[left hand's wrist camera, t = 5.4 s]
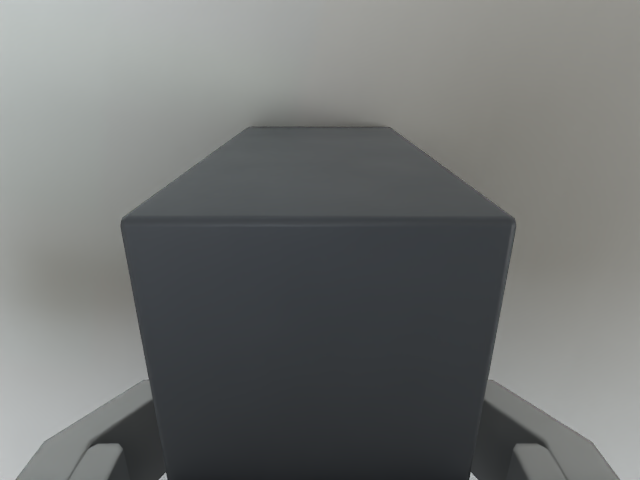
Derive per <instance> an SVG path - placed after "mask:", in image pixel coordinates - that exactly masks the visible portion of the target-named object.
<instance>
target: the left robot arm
mask: <svg viewBox="0 0 640 480" xmlns="http://www.w3.org/2000/svg"><path fill="white" fill-rule="evenodd" d="M165 472H166V468H165V463H164V457H163V452H162V447H161V441H160V436H159V430H158V425H157V420H156V414H155V409H154V404H153V398H152V393H151V387H150V382H149V380H143V381H141V382H140V383H138V384H137V385H135V386H133V387H132V388H130V389H128V390H127V391H125V392H124V393H122V394H120V395H119V396H117V397H116V398H114V399H112V400H111V401H109V402H107V403H106V404H104V405H103V406H101V407H99V408H98V409H96V410H95V411H93V412H91V413H90V414H88V415H86V416H85V417H83V418H82V419H80V420H78V421H77V422H75V423H74V424H72V425H70V426H69V427H67V428H65V429H64V430H62V431H61V432H59V433H57V434H56V435H54V436H53V437H51V438H49V439H48V440H46V441H44V443H43V444H42V445H41V447H40V448H39V449H38V451H37V452H36V453H35V455H34V456H33V457H32V458H31V460H30V461H29V462H28V464H27V465H26V466H25V468H24V469H23V470H22V472H21V473H20V474H19V476H18V477H17V478H16V480H159V479H160V477H161V476H162V475H163V474H164V473H165ZM471 472H472V473H473V475H474V476H475V477H476V478H477V479H478V480H620V479H619V478H618V476H617V475H616V474H615V472H614V471H613V470H612V468H611V467H610V465H609V464H608V463H607V461H606V460H605V459H604V457H603V456H602V455H601V453H600V452H599V451H598V449H597V448H596V447H595V445H594V444H593V443H592V442H591V441H589V440H588V439H586V438H585V437H583V436H581V435H580V434H578V433H577V432H575V431H573V430H572V429H570V428H569V427H567V426H565V425H564V424H562V423H561V422H559V421H558V420H556V419H554V418H553V417H551V416H550V415H548V414H546V413H545V412H543V411H542V410H540V409H538V408H537V407H535V406H534V405H532V404H530V403H529V402H527V401H526V400H524V399H522V398H521V397H519V396H518V395H516V394H514V393H513V392H511V391H510V390H508V389H506V388H505V387H503V386H502V385H500V384H498V383H497V382H495V381H494V380H488V381H487V386H486V391H485V397H484V402H483V407H482V413H481V418H480V424H479V429H478V434H477V440H476V445H475V450H474V456H473V461H472V466H471Z"/></svg>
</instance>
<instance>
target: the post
mask: <svg viewBox="0 0 640 480" xmlns="http://www.w3.org/2000/svg"><path fill="white" fill-rule="evenodd" d="M515 230H516V222H515V219H514V218H513V217H512V216H511V215H509V214H508V213H506V212H505V211H504V210H502V209H501V208H500V207H498V206H497V205H495V204H494V203H493V202H491V201H490V200H489V199H487V198H486V197H485V196H483V195H482V194H480V193H479V192H478V191H476V190H475V189H474V188H472V187H471V186H469V185H468V184H467V183H465V182H464V181H463V180H461V179H460V178H459V177H457V176H456V175H454V174H453V173H452V172H450V171H449V170H448V169H446V168H445V167H444V166H442V165H441V164H439V163H438V162H437V161H435V160H434V159H433V158H431V157H430V156H428V155H427V154H426V153H424V152H423V151H422V150H420V149H419V148H418V147H416V146H415V145H413V144H412V143H411V142H409V141H408V140H407V139H405V138H404V137H402V136H401V135H400V134H398V133H397V132H396V131H394V130H393V129H392V128H390V127H248V128H246V129H245V130H243V131H242V132H241V133H239V134H238V135H237V136H235V137H234V138H232V139H231V140H230V141H228V142H227V143H225V144H224V145H223V146H221V147H220V148H219V149H217V150H216V151H214V152H213V153H212V154H210V155H209V156H207V157H206V158H205V159H203V160H202V161H201V162H199V163H198V164H196V165H195V166H194V167H192V168H191V169H189V170H188V171H187V172H185V173H184V174H182V175H181V176H180V177H178V178H177V179H176V180H174V181H173V182H171V183H170V184H169V185H167V186H166V187H164V188H163V189H162V190H160V191H159V192H158V193H156V194H155V195H153V196H152V197H151V198H149V199H148V200H146V201H145V202H144V203H142V204H141V205H140V206H138V207H137V208H135V209H134V210H133V211H131V212H130V213H128V214H127V215H126V216H124V217H123V218H122V221H121V231H122V236H123V242H124V247H125V252H126V258H127V263H128V269H129V274H130V279H131V285H132V290H133V296H134V301H135V306H136V312H137V317H138V323H139V328H140V333H141V339H142V344H143V350H144V355H145V360H146V366H147V371H148V377H149V382H150V387H151V393H152V398H153V404H154V409H155V414H156V420H157V425H158V430H159V436H160V441H161V447H162V452H163V457H164V463H165V468H166V474H167V479H168V480H469V477H470V472H471V466H472V461H473V456H474V450H475V445H476V440H477V434H478V429H479V424H480V418H481V413H482V407H483V402H484V397H485V391H486V386H487V381H488V375H489V370H490V364H491V359H492V354H493V348H494V343H495V338H496V332H497V327H498V321H499V316H500V311H501V305H502V300H503V295H504V289H505V284H506V279H507V273H508V268H509V262H510V257H511V252H512V246H513V241H514V236H515Z"/></svg>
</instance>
